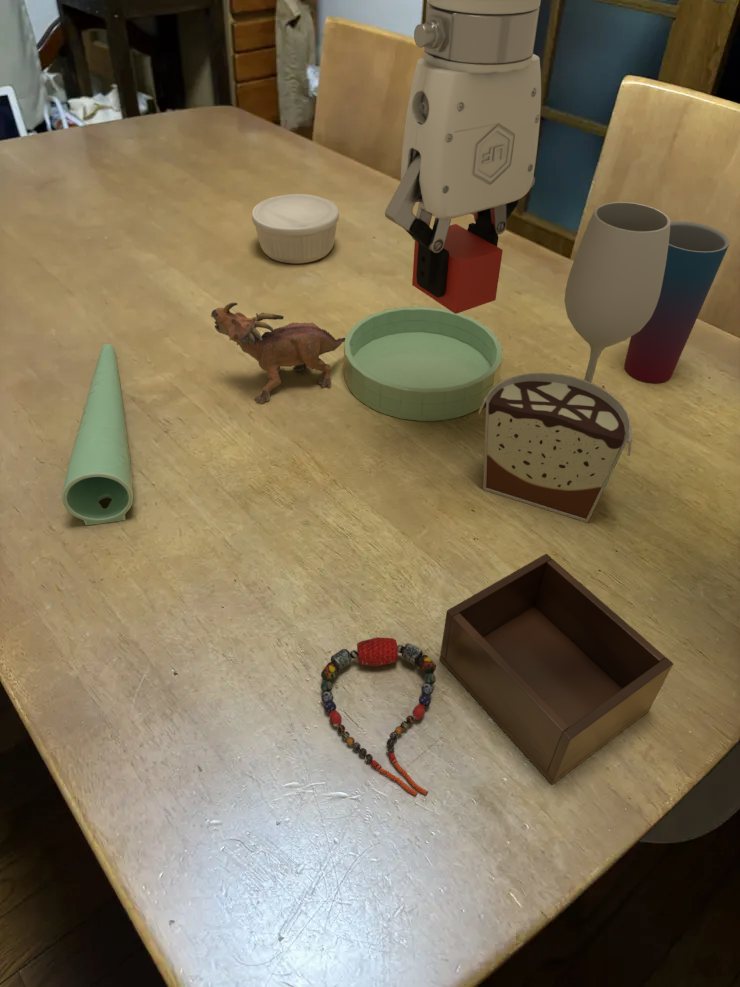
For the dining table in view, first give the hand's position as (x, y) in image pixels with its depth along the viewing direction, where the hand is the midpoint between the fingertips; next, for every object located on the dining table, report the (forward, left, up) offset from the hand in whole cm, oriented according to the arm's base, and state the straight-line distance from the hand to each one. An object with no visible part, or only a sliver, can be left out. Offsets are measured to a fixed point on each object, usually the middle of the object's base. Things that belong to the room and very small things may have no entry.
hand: (454, 280), depth 64 cm
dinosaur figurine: (+16, -3, -15) cm, 22 cm away
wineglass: (-13, -2, -15) cm, 20 cm away
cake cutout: (-10, +7, -15) cm, 20 cm away
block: (0, 0, -1) cm, 1 cm away
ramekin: (+23, -34, -15) cm, 43 cm away
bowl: (+3, -8, -15) cm, 17 cm away
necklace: (0, +33, -15) cm, 36 cm away
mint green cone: (+31, +7, -15) cm, 35 cm away
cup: (-21, -14, -15) cm, 29 cm away
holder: (-10, +28, -15) cm, 34 cm away
